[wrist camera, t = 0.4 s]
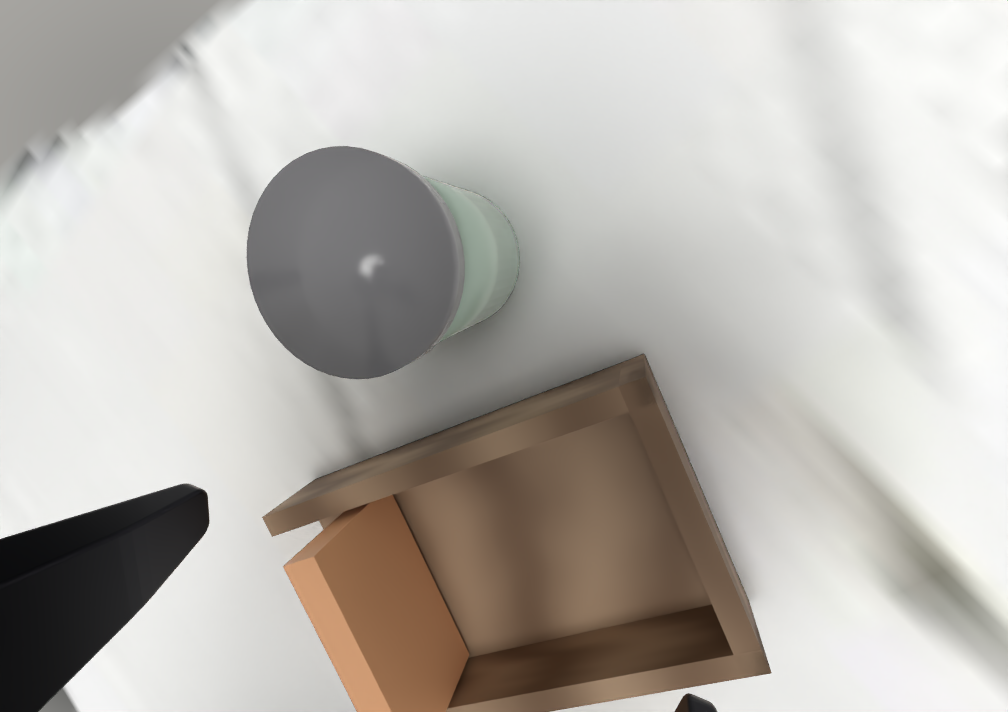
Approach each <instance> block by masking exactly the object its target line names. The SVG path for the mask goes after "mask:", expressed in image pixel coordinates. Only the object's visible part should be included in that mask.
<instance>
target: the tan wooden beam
mask: <svg viewBox="0 0 1008 712" xmlns="http://www.w3.org/2000/svg"><path fill="white" fill-rule="evenodd" d="M283 567H284V569H285V571H286V573H287V575H288V577H289V579H290V581H291V583H292V585H293V587H294V589H295V591H296V593H297V595H298V597H299V599H300V601H301V603H302V605H303V607H304V609H305V611H306V612H307V614H308V616H309V618H310V620H311V622H312V624H313V626H314V628H315V630H316V632H317V634H318V636H319V638H320V640H321V642H322V644H323V646H324V648H325V650H326V652H327V654H328V656H329V658H330V660H331V662H332V664H333V666H334V667H335V669H336V671H337V673H338V675H339V677H340V679H341V681H342V683H343V685H344V687H345V689H346V691H347V693H348V695H349V697H350V699H351V701H352V703H353V705H354V707H355V709H356V711H357V712H446V710H447V708H448V705H449V703H450V701H451V698H452V696H453V693H454V691H455V689H456V686H457V684H458V681H459V679H460V676H461V674H462V672H463V669H464V667H465V664H466V662H467V660H468V657H469V655H470V654H469V652H468V650H467V648H466V646H465V644H464V642H463V640H462V638H461V636H460V634H459V631H458V629H457V627H456V625H455V623H454V621H453V619H452V617H451V615H450V613H449V611H448V609H447V607H446V604H445V602H444V600H443V598H442V596H441V594H440V592H439V590H438V588H437V586H436V584H435V582H434V580H433V577H432V575H431V573H430V571H429V569H428V567H427V565H426V563H425V561H424V559H423V557H422V555H421V553H420V550H419V548H418V546H417V544H416V542H415V540H414V538H413V536H412V534H411V532H410V530H409V528H408V526H407V523H406V521H405V519H404V517H403V515H402V513H401V511H400V509H399V507H398V505H397V503H396V501H395V498H394V496H393V495H390V496H387V497H385V498H382V499H379V500H376V501H373V502H370V503H367V504H365V505H362V506H359V507H356V508H353V509H350V510H347V511H344V512H343V513H342V514H341V515H340V516H338V517H337V518H336V519H335V520H334V521H333V522H332V523H331V524H330V525H328V526H327V527H326V528H325V529H324V530H323V531H322V532H321V533H320V534H318V535H317V536H316V537H315V538H314V539H313V540H312V541H311V542H310V543H308V544H307V545H306V546H305V547H304V548H303V549H302V550H301V551H300V552H298V553H297V554H296V555H295V556H294V557H293V558H292V559H291V560H290V561H289V562H287V563H286V564H285V565H284V566H283Z"/></svg>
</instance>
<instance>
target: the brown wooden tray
mask: <svg viewBox="0 0 1008 712" xmlns="http://www.w3.org/2000/svg"><path fill="white" fill-rule="evenodd" d="M390 495H393V496H394V498H395V501H396V503H397V505H398V507H399V509H400V511H401V513H402V515H403V517H404V519H405V521H406V523H407V526H408V528H409V530H410V532H411V534H412V536H413V538H414V540H415V542H416V544H417V546H418V548H419V550H420V553H421V555H422V557H423V559H424V561H425V563H426V565H427V567H428V569H429V571H430V573H431V575H432V577H433V580H434V582H435V584H436V586H437V588H438V590H439V592H440V594H441V596H442V598H443V600H444V602H445V604H446V607H447V609H448V611H449V613H450V615H451V617H452V619H453V621H454V623H455V625H456V627H457V629H458V631H459V634H460V636H461V638H462V640H463V642H464V644H465V646H466V648H467V650H468V652H469V654H470V655H469V657H468V660H467V662H466V664H465V667H464V669H463V672H462V674H461V676H460V679H459V681H458V684H457V686H456V689H455V691H454V693H453V696H452V698H451V701H450V703H449V705H448V708H447V710H446V712H550V711H556V710H561V709H567V708H573V707H579V706H585V705H590V704H596V703H602V702H608V701H613V700H619V699H625V698H631V697H637V696H642V695H648V694H654V693H660V692H666V691H671V690H677V689H683V688H689V687H695V686H700V685H706V684H712V683H718V682H723V681H729V680H735V679H741V678H747V677H752V676H758V675H764V674H770V673H771V670H770V667H769V664H768V661H767V657H766V654H765V651H764V648H763V644H762V641H761V638H760V635H759V632H758V628H757V625H756V622H755V619H754V615H753V612H752V609H751V606H750V603H749V600H748V598H747V595H746V593H745V591H744V588H743V586H742V584H741V581H740V579H739V576H738V574H737V572H736V569H735V567H734V565H733V562H732V560H731V558H730V555H729V553H728V550H727V548H726V546H725V543H724V541H723V539H722V536H721V534H720V531H719V529H718V527H717V524H716V522H715V520H714V517H713V515H712V513H711V510H710V508H709V505H708V503H707V501H706V498H705V496H704V494H703V491H702V489H701V487H700V484H699V482H698V479H697V477H696V475H695V472H694V470H693V468H692V465H691V463H690V460H689V458H688V456H687V453H686V451H685V449H684V446H683V444H682V442H681V439H680V437H679V434H678V432H677V430H676V427H675V425H674V423H673V420H672V418H671V416H670V413H669V411H668V408H667V406H666V404H665V401H664V399H663V397H662V394H661V392H660V390H659V387H658V385H657V382H656V380H655V378H654V375H653V373H652V371H651V368H650V366H649V363H648V361H647V359H646V356H645V354H643V355H640V356H637V357H635V358H632V359H630V360H627V361H624V362H622V363H619V364H616V365H614V366H611V367H609V368H606V369H603V370H601V371H598V372H595V373H593V374H590V375H588V376H585V377H582V378H580V379H577V380H575V381H572V382H569V383H567V384H564V385H561V386H559V387H556V388H554V389H551V390H548V391H546V392H543V393H540V394H538V395H535V396H533V397H530V398H527V399H525V400H522V401H519V402H517V403H514V404H512V405H509V406H506V407H504V408H501V409H498V410H496V411H493V412H491V413H488V414H485V415H483V416H480V417H477V418H475V419H472V420H470V421H467V422H464V423H462V424H459V425H456V426H454V427H451V428H449V429H446V430H443V431H441V432H438V433H435V434H433V435H430V436H428V437H425V438H422V439H420V440H417V441H414V442H412V443H409V444H407V445H404V446H401V447H399V448H396V449H393V450H391V451H388V452H386V453H383V454H380V455H378V456H375V457H372V458H370V459H367V460H365V461H362V462H359V463H357V464H354V465H351V466H349V467H346V468H344V469H341V470H338V471H336V472H333V473H330V474H328V475H325V476H323V477H320V478H317V479H315V480H313V481H312V482H311V483H309V484H308V485H306V486H305V487H304V488H302V489H301V490H299V491H298V492H297V493H295V494H294V495H292V496H291V497H290V498H288V499H287V500H286V501H284V502H283V503H281V504H280V505H279V506H277V507H276V508H274V509H273V510H272V511H270V512H269V513H268V514H266V515H265V516H263V517H262V518H263V520H264V522H265V524H266V526H267V528H268V529H269V531H270V533H271V535H272V537H273V536H276V535H279V534H281V533H284V532H287V531H290V530H293V529H296V528H299V527H301V526H304V525H307V524H310V523H313V522H316V521H320V523H321V525H322V527H323V529H325V528H326V527H327V526H328V525H330V524H331V523H332V522H333V521H334V520H335V519H336V518H337V517H338V516H340V515H341V514H342V513H343V512H344V511H347V510H350V509H353V508H356V507H359V506H362V505H365V504H367V503H370V502H373V501H376V500H379V499H382V498H385V497H387V496H390Z"/></svg>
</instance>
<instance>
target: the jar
mask: <svg viewBox="0 0 1008 712" xmlns="http://www.w3.org/2000/svg"><path fill="white" fill-rule="evenodd" d="M519 263H520V256H519V247H518V242H517V238H516V236H515V233H514V230H513V228H512V226H511V224H510V222H509V221H508V219H507V218H506V216H505V215H504V214H503V212H502V211H501V210H500V209H499V208H498V207H497V206H496V205H494V204H493V203H492V202H491V201H489V200H488V199H486V198H485V197H483V196H481V195H479V194H476V193H474V192H471V191H468V190H465V189H462V188H458V187H455V186H452V185H449V184H446V183H443V182H440V181H437V180H434V179H431V178H427V177H424V176H421V175H420V174H419V173H418V172H416V171H415V170H413V169H412V168H410V167H409V166H407V165H406V164H404V163H401V162H399V161H397V160H395V159H393V158H390V157H387V156H384V155H381V154H379V153H376V152H372V151H369V150H366V149H362V148H356V147H348V146H338V147H328V148H322V149H318V150H315V151H312V152H309V153H306V154H304V155H303V156H301V157H299V158H297V159H295V160H293V161H292V162H291V163H289V164H288V165H287V166H285V167H284V168H283V169H282V170H281V171H280V172H279V173H278V174H277V175H276V176H275V177H274V178H273V179H272V180H271V182H270V183H269V184H268V186H267V187H266V188H265V190H264V192H263V194H262V195H261V197H260V199H259V201H258V203H257V205H256V208H255V210H254V213H253V216H252V220H251V223H250V227H249V233H248V240H247V267H248V275H249V280H250V285H251V289H252V292H253V295H254V298H255V301H256V303H257V306H258V308H259V310H260V313H261V315H262V316H263V318H264V320H265V322H266V324H267V325H268V327H269V328H270V330H271V331H272V332H273V334H274V335H275V337H276V338H277V339H278V340H279V341H280V342H281V343H282V344H283V346H284V347H285V348H286V349H288V350H289V351H290V352H291V353H292V354H293V355H294V356H295V357H297V358H298V359H300V360H301V361H303V362H304V363H305V364H307V365H309V366H311V367H313V368H315V369H317V370H319V371H321V372H324V373H326V374H329V375H333V376H337V377H341V378H349V379H369V378H374V377H379V376H383V375H386V374H389V373H391V372H394V371H396V370H398V369H400V368H402V367H404V366H406V365H408V364H410V363H411V362H413V361H415V360H417V359H419V358H421V357H422V356H423V355H425V354H426V353H427V352H429V351H430V350H431V349H432V348H433V347H434V346H435V345H436V344H437V343H438V342H440V341H442V340H444V339H446V338H448V337H451V336H453V335H455V334H457V333H459V332H461V331H463V330H465V329H467V328H469V327H471V326H473V325H475V324H478V323H480V322H482V321H484V320H485V319H487V318H489V317H491V316H492V315H493V314H495V313H496V312H497V311H498V310H499V309H500V308H501V307H502V306H503V305H504V304H505V302H506V301H507V300H508V298H509V296H510V295H511V293H512V291H513V289H514V286H515V284H516V281H517V277H518V272H519Z"/></svg>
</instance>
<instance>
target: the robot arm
mask: <svg viewBox="0 0 1008 712" xmlns="http://www.w3.org/2000/svg"><path fill="white" fill-rule="evenodd" d="M208 526H209V509H208V496H207V493H206V492H205V490H203V489H201V488H198V487H196V486H194V485H191V484H180V485H177V486H173V487H170V488H167V489H163V490H160V491H157V492H154V493H150V494H147V495H144V496H140V497H137V498H134V499H130V500H127V501H124V502H121V503H117V504H114V505H111V506H107V507H104V508H101V509H97V510H94V511H91V512H88V513H84V514H81V515H78V516H74V517H71V518H68V519H64V520H61V521H58V522H55V523H51V524H48V525H45V526H41V527H38V528H35V529H32V530H28V531H25V532H22V533H18V534H15V535H12V536H8V537H5V538H2V539H0V712H38V711H40V710H41V709H42V708H43V707H44V706H45V705H46V704H47V703H48V702H49V701H50V700H51V699H52V698H53V697H54V696H55V695H56V694H57V693H58V692H59V690H61V689H62V688H63V687H64V686H65V685H66V684H67V683H68V682H69V681H70V680H71V679H72V678H73V677H74V676H75V675H76V674H77V673H78V672H79V671H80V670H81V669H82V668H83V667H84V666H85V665H86V664H87V663H88V662H89V661H90V660H91V659H92V658H93V657H94V656H95V655H96V654H97V653H98V652H99V651H100V650H101V649H102V648H103V647H104V646H105V645H106V644H107V643H108V642H109V641H110V640H111V639H112V638H113V637H114V636H115V635H116V634H117V633H118V632H119V631H120V630H121V629H122V628H123V627H124V626H125V625H126V624H127V623H128V622H129V621H130V620H131V619H132V618H133V617H134V616H135V615H136V613H137V612H138V611H139V610H140V609H141V608H142V607H143V606H144V605H145V604H146V603H147V602H148V601H149V599H150V598H151V597H152V596H153V595H154V594H155V593H156V591H157V590H158V589H159V588H160V587H161V586H162V584H163V583H164V582H165V581H166V580H167V578H168V577H169V576H170V575H171V574H172V572H173V571H174V570H175V569H176V568H177V567H178V565H179V564H180V563H181V562H182V561H183V559H184V558H185V557H186V556H187V555H188V553H189V552H190V551H191V550H192V549H193V548H194V546H195V545H196V544H197V543H198V542H199V540H200V539H201V538H202V537H203V536H204V534H205V532H206V531H207V528H208ZM675 712H717V710H716V708H715V707H714V705H713V704H712V703H710V702H709V701H707V700H704V699H702V698H700V697H697V696H695V695H692V694H689V693H688V694H686V695H684V696H683V698H682V700H681V701H680V703H679V705H678V707H677V708H676V710H675Z"/></svg>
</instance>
